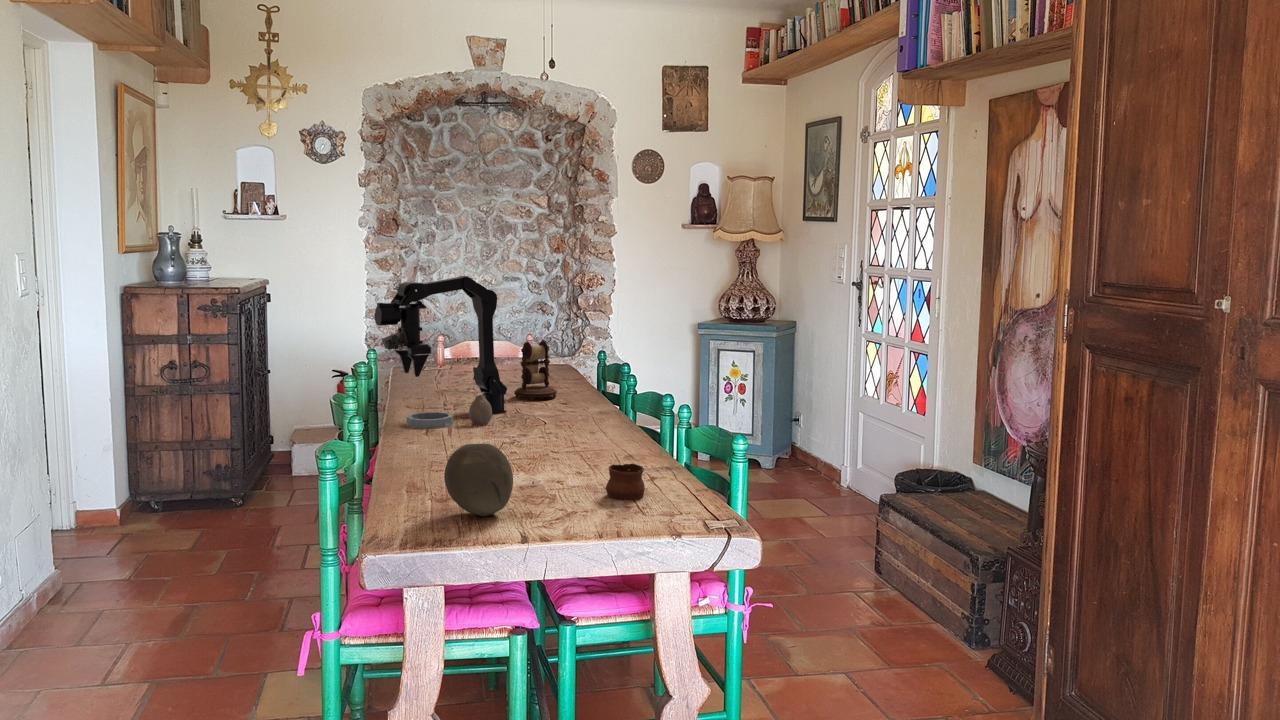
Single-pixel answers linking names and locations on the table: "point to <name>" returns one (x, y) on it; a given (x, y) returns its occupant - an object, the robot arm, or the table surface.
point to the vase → (480, 411)
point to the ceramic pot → (625, 482)
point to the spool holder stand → (535, 372)
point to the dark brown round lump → (479, 478)
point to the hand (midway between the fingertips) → (411, 374)
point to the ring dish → (430, 420)
